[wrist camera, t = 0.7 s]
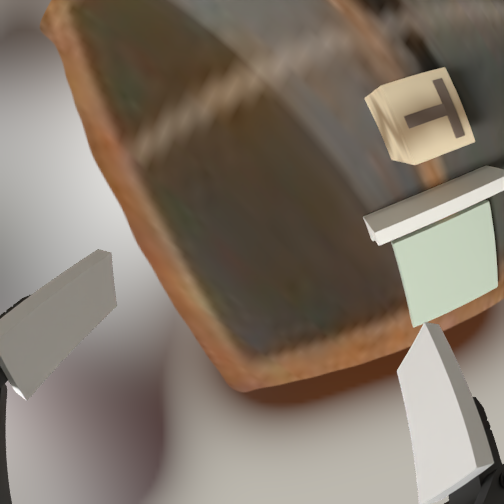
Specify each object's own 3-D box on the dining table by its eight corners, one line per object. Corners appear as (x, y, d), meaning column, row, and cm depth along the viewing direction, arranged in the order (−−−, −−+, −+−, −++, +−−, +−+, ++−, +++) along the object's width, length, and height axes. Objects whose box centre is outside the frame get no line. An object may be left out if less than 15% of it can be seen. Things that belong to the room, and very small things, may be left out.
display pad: (390, 241, 33) (393, 244, 32) (485, 199, 28) (489, 201, 27) (411, 323, 37) (413, 327, 36) (494, 283, 31) (497, 286, 31)
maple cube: (364, 98, 28) (381, 85, 20) (417, 80, 25) (445, 66, 17) (391, 159, 30) (415, 165, 22) (442, 140, 27) (476, 142, 19)
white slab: (362, 216, 33) (374, 232, 27) (486, 165, 26) (513, 171, 20) (370, 238, 33) (382, 258, 28) (490, 186, 27) (517, 196, 21)
